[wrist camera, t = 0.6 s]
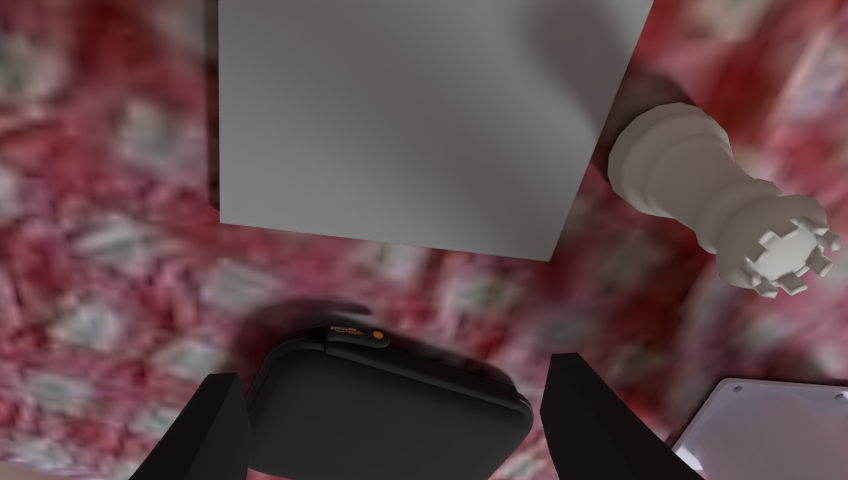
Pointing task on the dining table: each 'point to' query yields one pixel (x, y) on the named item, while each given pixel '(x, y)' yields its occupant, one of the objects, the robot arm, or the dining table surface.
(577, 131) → the slate mat
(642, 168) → the rook chess piece
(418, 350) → the dining table surface
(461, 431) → the carrying case or bag
